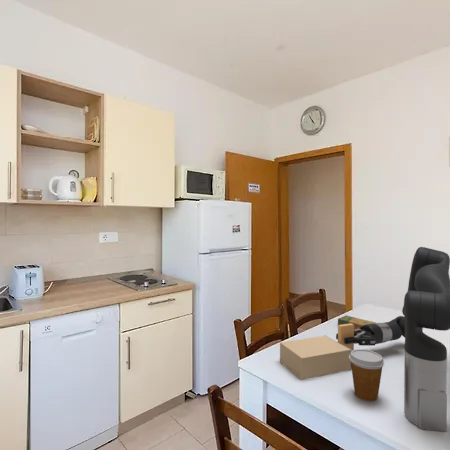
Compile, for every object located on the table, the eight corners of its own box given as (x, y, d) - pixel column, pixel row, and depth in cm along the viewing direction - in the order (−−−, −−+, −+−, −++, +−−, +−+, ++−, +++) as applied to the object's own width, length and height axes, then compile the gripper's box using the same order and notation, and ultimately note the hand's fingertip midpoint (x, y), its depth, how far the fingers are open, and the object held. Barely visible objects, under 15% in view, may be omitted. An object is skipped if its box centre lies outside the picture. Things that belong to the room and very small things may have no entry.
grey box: (304, 377, 100) (305, 339, 100) (282, 359, 113) (282, 325, 113) (366, 364, 109) (366, 330, 109) (339, 349, 122) (339, 318, 122)
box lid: (301, 379, 100) (301, 358, 100) (279, 361, 113) (280, 342, 113) (350, 369, 107) (350, 349, 107) (324, 353, 120) (324, 335, 120)
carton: (369, 335, 140) (369, 326, 140) (337, 326, 152) (337, 318, 152) (377, 331, 145) (377, 322, 145) (345, 322, 158) (345, 314, 157)
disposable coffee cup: (354, 383, 98) (354, 346, 97) (387, 394, 92) (387, 354, 91) (344, 396, 90) (344, 356, 90) (379, 409, 84) (379, 365, 84)
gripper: (362, 318, 126) (328, 322, 120) (391, 329, 113) (354, 335, 107) (362, 336, 126) (328, 341, 120) (391, 349, 113) (354, 356, 107)
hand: (340, 338), depth 114 cm, fingers open, 3 cm apart
